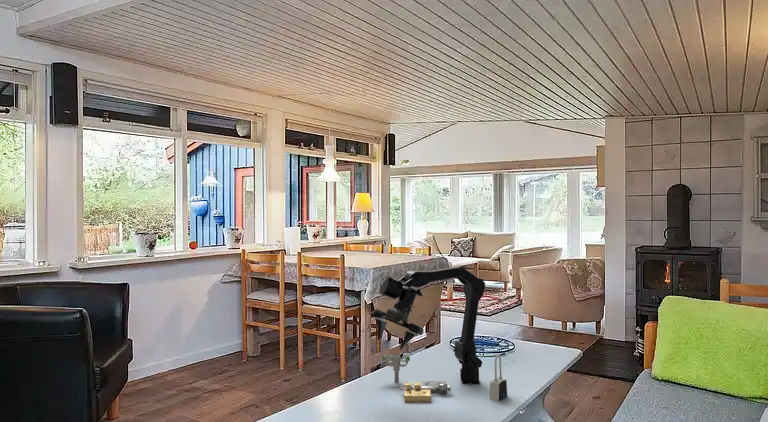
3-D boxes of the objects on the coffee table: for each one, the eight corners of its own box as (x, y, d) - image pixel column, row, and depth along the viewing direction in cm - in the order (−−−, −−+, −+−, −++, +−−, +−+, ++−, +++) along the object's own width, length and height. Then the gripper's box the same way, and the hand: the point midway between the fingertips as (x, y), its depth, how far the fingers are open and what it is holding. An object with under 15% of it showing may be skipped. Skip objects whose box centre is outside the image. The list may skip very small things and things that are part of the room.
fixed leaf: (449, 386, 214) (449, 376, 214) (451, 395, 204) (450, 385, 204) (401, 386, 215) (401, 377, 215) (400, 395, 205) (400, 385, 205)
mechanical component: (409, 383, 219) (408, 357, 219) (382, 382, 221) (382, 356, 221) (410, 381, 222) (410, 355, 222) (384, 380, 224) (383, 354, 224)
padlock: (499, 401, 196) (498, 357, 196) (488, 399, 199) (487, 355, 199) (508, 396, 201) (507, 353, 201) (497, 394, 204) (496, 351, 204)
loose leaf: (430, 392, 207) (429, 382, 207) (430, 401, 197) (430, 391, 197) (405, 392, 208) (404, 382, 208) (404, 401, 198) (404, 391, 198)
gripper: (374, 291, 207) (358, 333, 205) (420, 309, 199) (404, 353, 197) (385, 296, 217) (370, 336, 215) (430, 313, 209) (415, 355, 206)
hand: (389, 344), depth 208 cm, fingers open, 9 cm apart
